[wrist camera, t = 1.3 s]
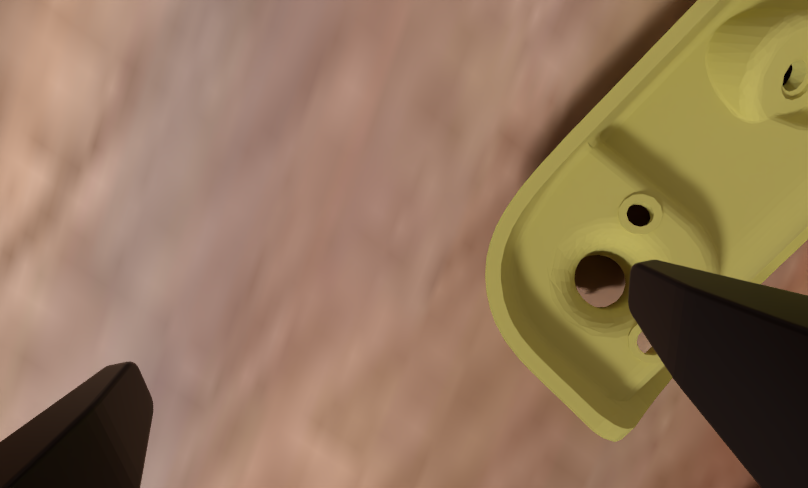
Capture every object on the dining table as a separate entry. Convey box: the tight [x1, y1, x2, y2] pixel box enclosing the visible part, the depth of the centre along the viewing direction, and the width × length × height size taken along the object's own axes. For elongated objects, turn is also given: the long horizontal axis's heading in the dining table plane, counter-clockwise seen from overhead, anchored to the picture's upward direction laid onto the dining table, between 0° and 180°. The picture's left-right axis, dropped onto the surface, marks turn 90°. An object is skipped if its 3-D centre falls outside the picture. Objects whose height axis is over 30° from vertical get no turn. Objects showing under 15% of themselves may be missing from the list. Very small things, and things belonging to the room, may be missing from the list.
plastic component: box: [485, 0, 808, 442], centre depth 21 cm, size 20×7×10 cm
